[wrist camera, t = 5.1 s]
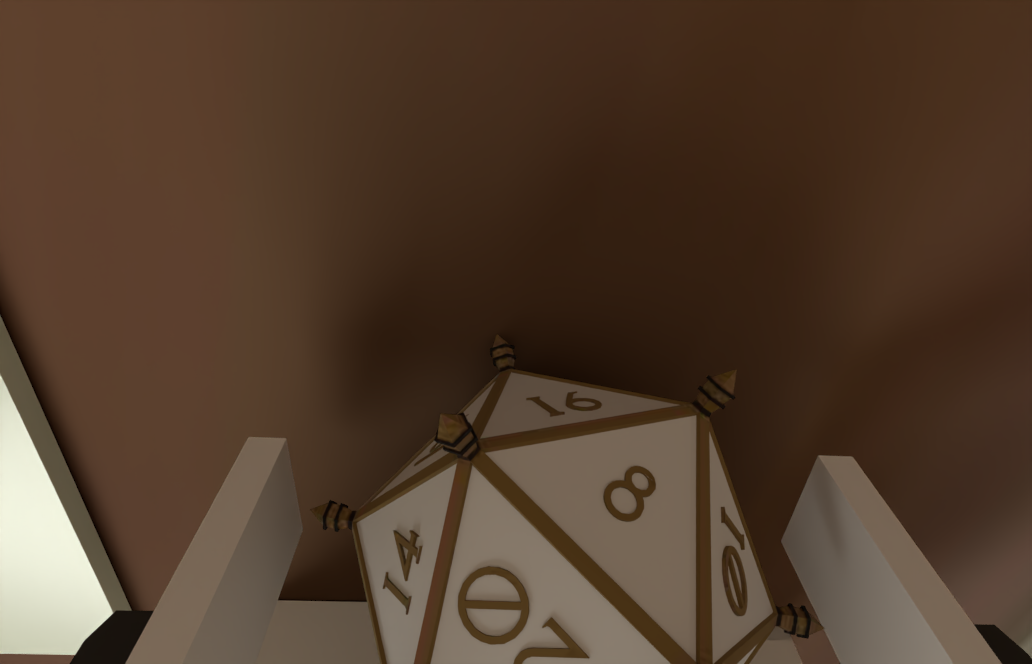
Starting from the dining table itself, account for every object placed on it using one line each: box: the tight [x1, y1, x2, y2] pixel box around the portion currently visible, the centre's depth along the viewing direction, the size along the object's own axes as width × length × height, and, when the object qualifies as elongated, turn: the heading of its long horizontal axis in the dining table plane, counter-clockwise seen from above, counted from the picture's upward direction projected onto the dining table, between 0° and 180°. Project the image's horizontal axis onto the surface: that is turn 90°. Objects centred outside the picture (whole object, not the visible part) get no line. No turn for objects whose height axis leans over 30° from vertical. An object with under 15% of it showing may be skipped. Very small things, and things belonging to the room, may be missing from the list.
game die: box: [310, 334, 824, 664], centre depth 11 cm, size 9×8×10 cm
